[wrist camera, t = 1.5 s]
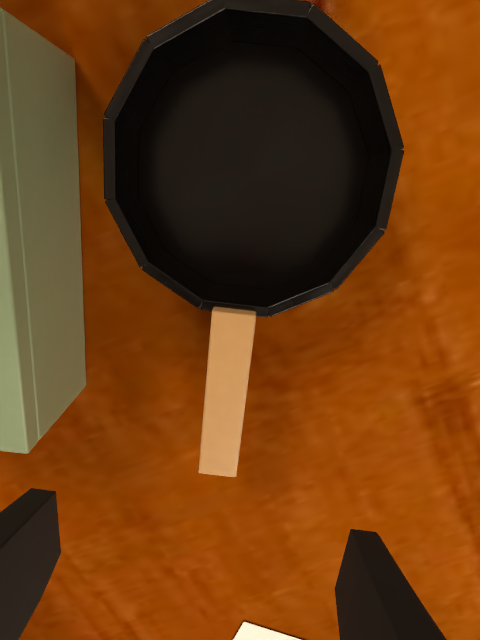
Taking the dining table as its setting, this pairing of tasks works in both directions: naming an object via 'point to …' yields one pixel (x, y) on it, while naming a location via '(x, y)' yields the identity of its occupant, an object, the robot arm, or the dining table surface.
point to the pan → (249, 175)
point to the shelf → (38, 237)
